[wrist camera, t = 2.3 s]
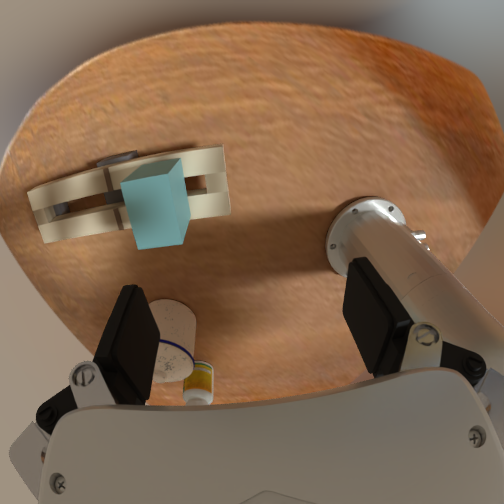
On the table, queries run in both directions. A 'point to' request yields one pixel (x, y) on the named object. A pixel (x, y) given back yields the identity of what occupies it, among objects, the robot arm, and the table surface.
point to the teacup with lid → (174, 340)
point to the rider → (157, 204)
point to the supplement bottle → (199, 385)
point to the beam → (108, 182)
